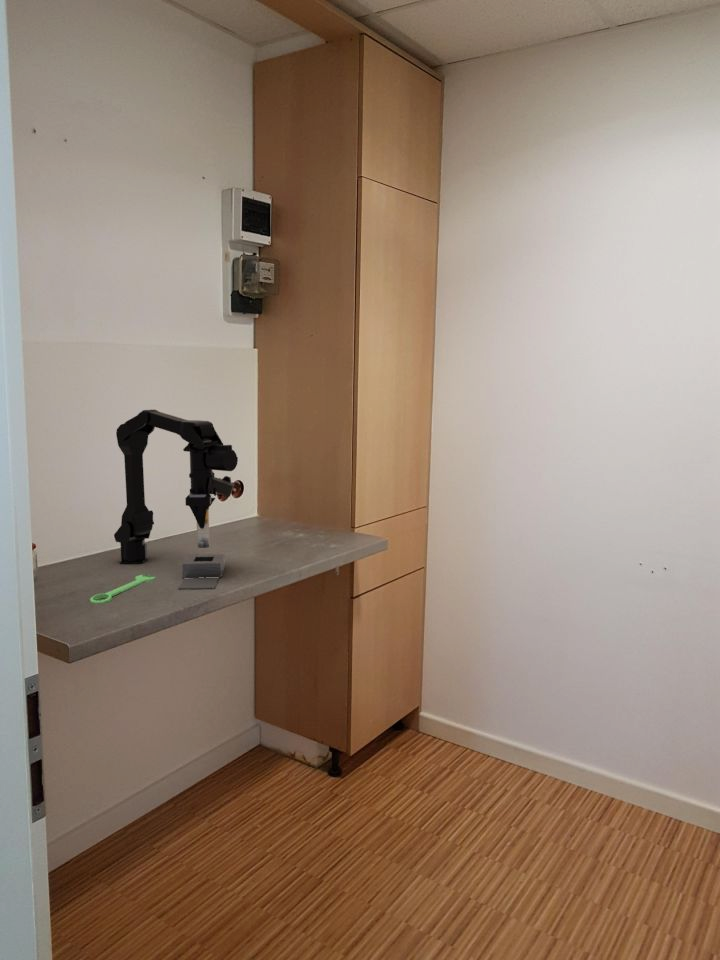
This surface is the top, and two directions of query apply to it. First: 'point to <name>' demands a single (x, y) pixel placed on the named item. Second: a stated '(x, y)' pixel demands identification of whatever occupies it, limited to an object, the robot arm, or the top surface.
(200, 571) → the block
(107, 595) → the wrench
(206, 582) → the rubber mat
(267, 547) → the top surface
